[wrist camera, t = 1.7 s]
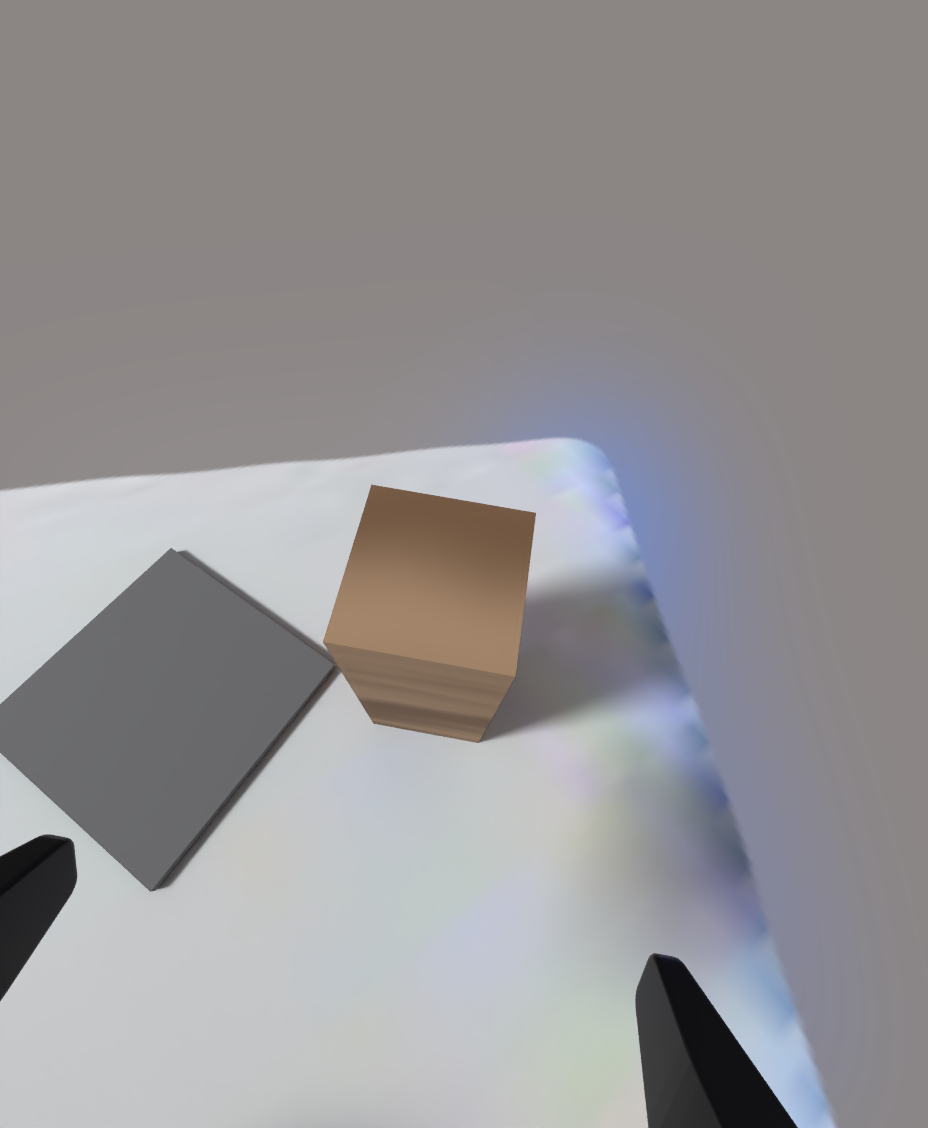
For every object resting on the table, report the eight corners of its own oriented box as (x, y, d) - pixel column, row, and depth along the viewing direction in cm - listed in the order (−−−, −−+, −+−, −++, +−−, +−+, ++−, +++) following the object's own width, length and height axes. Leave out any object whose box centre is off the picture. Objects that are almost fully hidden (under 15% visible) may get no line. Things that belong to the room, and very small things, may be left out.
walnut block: (478, 742, 21) (515, 677, 12) (373, 723, 22) (323, 641, 12) (493, 641, 23) (535, 512, 14) (397, 624, 24) (371, 484, 14)
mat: (155, 890, 18) (150, 891, 18) (-18, 729, 21) (-26, 728, 20) (335, 667, 23) (334, 664, 22) (175, 552, 25) (170, 548, 24)
